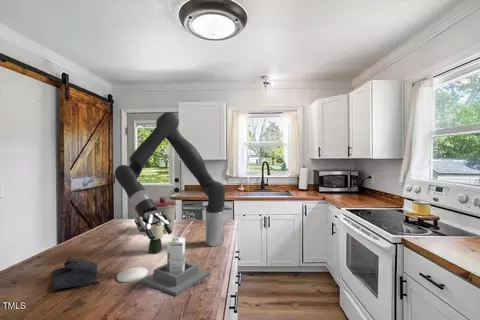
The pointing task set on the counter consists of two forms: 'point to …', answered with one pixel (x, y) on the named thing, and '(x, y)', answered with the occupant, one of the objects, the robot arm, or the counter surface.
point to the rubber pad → (132, 275)
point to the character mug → (156, 238)
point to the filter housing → (175, 278)
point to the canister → (167, 209)
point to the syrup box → (176, 256)
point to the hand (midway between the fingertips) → (162, 235)
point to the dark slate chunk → (75, 274)
